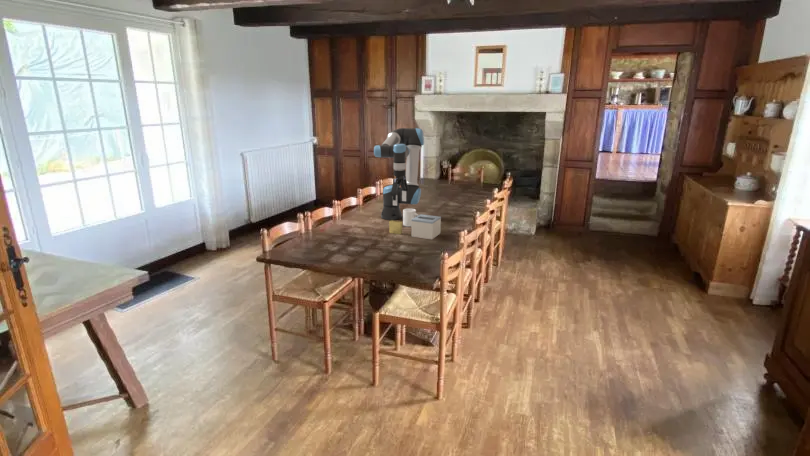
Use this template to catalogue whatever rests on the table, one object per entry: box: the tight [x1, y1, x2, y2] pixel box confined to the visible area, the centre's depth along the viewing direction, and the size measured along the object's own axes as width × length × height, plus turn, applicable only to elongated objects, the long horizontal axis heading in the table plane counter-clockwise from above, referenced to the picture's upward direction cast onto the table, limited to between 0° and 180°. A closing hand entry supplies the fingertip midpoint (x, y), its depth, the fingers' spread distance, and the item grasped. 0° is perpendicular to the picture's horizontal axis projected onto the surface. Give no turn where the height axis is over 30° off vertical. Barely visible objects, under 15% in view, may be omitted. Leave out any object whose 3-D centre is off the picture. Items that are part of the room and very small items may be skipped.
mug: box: [402, 208, 419, 228], centre depth 291 cm, size 9×12×11 cm
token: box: [388, 220, 403, 235], centre depth 275 cm, size 8×2×8 cm, turn 65°
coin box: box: [410, 213, 442, 240], centre depth 271 cm, size 14×14×11 cm
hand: (399, 203), depth 272 cm, fingers open, 13 cm apart
